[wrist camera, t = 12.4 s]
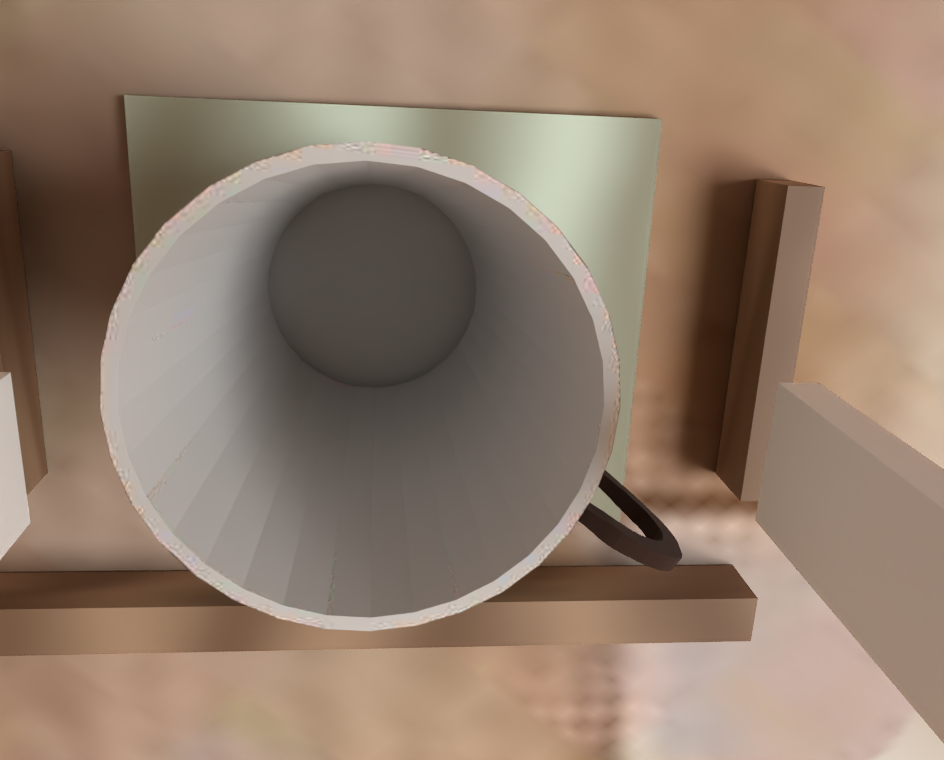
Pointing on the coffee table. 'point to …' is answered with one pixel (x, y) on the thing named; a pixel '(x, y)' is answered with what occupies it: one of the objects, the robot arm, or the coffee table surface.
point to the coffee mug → (365, 389)
